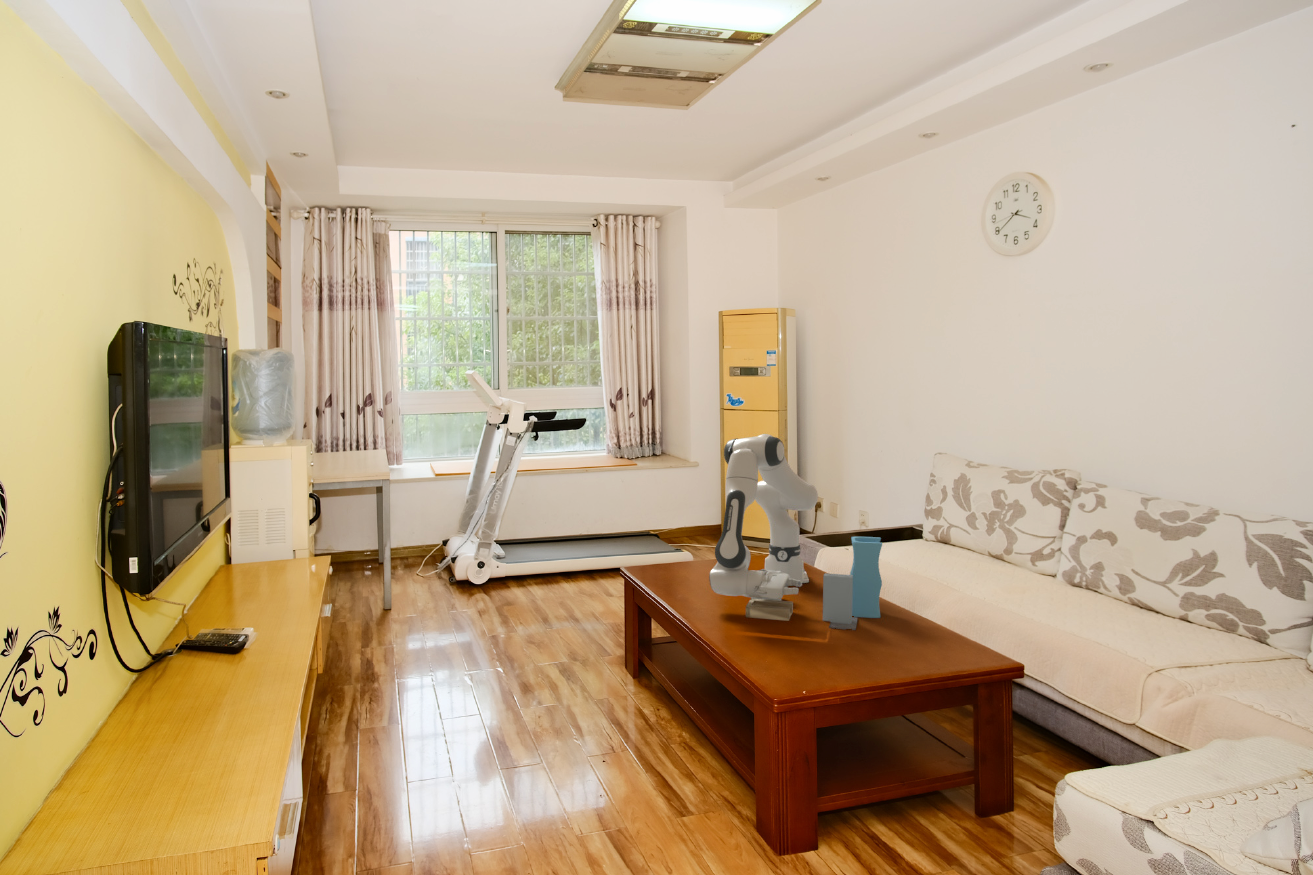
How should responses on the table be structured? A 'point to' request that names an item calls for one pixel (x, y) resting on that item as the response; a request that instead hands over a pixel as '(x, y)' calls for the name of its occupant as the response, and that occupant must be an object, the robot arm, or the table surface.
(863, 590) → the vase
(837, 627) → the felt pad
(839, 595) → the cover plate
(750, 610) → the birch box
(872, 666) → the table surface
